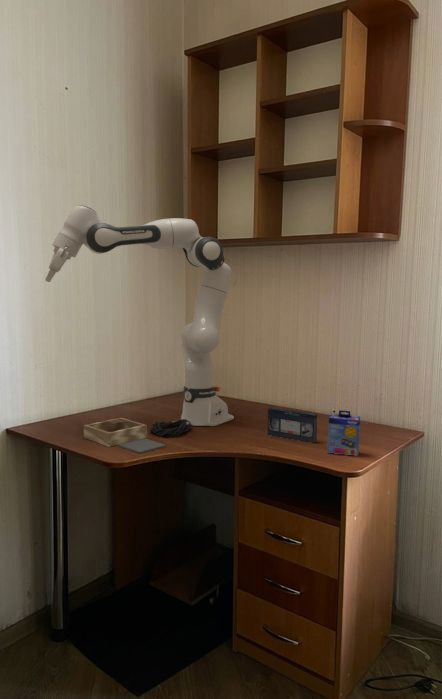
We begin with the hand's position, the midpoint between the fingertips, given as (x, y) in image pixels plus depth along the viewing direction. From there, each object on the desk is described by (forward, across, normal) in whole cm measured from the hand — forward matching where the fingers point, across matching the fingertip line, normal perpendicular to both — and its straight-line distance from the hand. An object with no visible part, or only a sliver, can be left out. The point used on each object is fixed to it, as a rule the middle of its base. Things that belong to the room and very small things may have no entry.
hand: (47, 281), depth 192 cm
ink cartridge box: (+5, -52, -105) cm, 117 cm away
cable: (+28, -11, -63) cm, 70 cm away
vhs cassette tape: (+9, -32, -98) cm, 103 cm away
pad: (+34, -27, -51) cm, 67 cm away
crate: (+37, -14, -45) cm, 60 cm away
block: (+37, -14, -45) cm, 60 cm away
